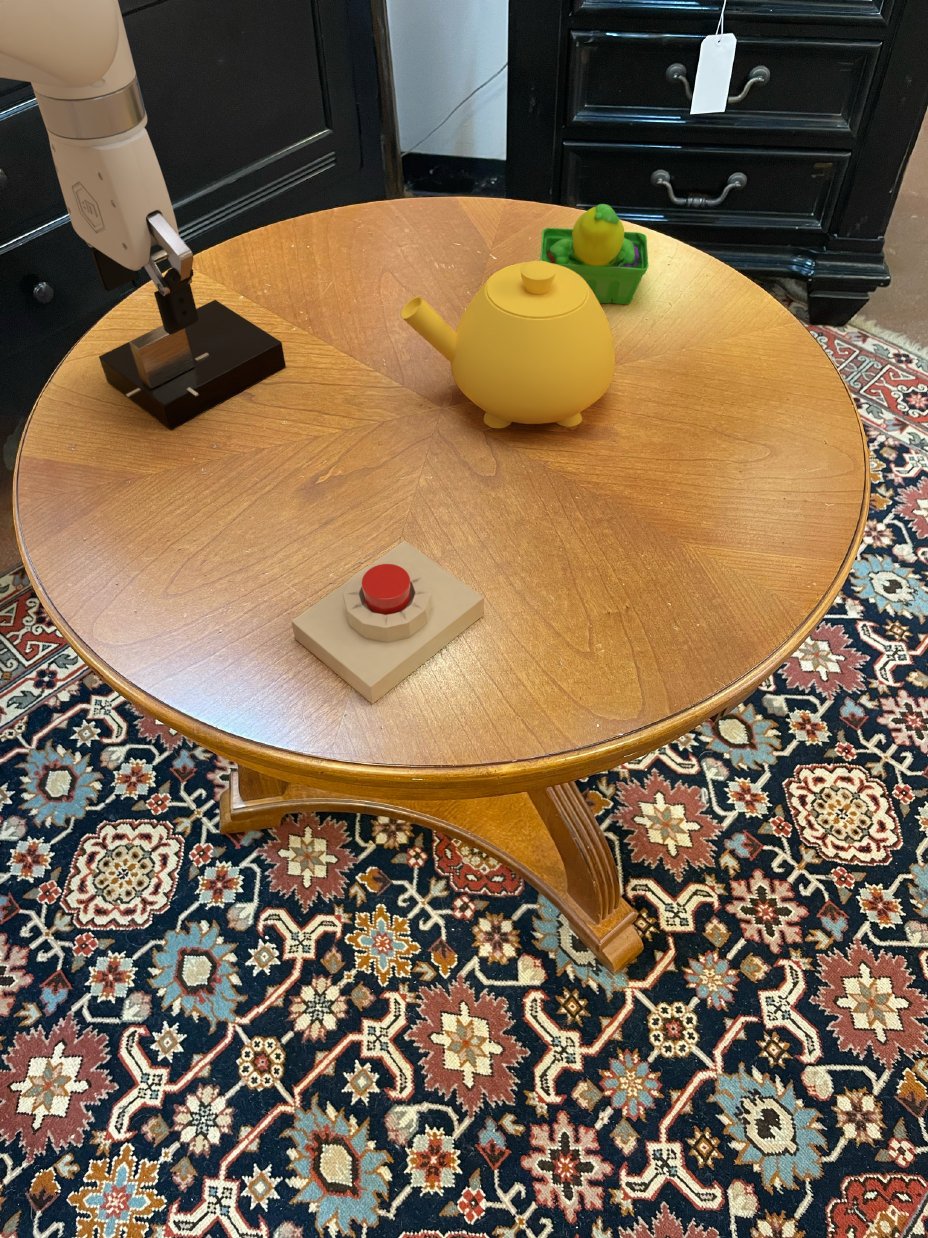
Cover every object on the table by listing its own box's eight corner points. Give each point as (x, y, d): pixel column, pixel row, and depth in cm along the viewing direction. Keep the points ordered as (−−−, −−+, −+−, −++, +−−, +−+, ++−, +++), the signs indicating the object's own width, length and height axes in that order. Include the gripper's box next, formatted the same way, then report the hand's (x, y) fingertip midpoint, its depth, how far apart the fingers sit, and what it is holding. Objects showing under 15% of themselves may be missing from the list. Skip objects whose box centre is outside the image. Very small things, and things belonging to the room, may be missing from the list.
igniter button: (386, 622, 71) (384, 607, 69) (353, 597, 72) (351, 581, 71) (420, 596, 72) (420, 580, 71) (388, 571, 74) (387, 556, 73)
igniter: (372, 704, 70) (368, 672, 67) (294, 638, 74) (287, 605, 71) (484, 615, 76) (484, 581, 73) (405, 557, 80) (403, 523, 77)
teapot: (405, 450, 89) (396, 320, 78) (406, 352, 99) (399, 224, 88) (619, 446, 89) (640, 316, 78) (599, 348, 99) (615, 221, 88)
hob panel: (163, 443, 89) (155, 416, 87) (93, 388, 95) (83, 361, 92) (293, 371, 96) (288, 344, 94) (220, 324, 102) (214, 297, 99)
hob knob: (151, 389, 90) (137, 346, 86) (141, 382, 90) (127, 339, 87) (195, 366, 92) (183, 323, 88) (185, 359, 93) (173, 316, 89)
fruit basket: (640, 274, 108) (655, 174, 100) (642, 318, 103) (659, 217, 94) (539, 269, 109) (545, 170, 100) (536, 313, 103) (543, 212, 94)
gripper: (-11, 86, 75) (62, 285, 88) (113, 158, 67) (171, 363, 80) (74, 58, 78) (131, 253, 91) (200, 123, 70) (243, 326, 84)
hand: (150, 304), depth 86 cm, fingers open, 9 cm apart
